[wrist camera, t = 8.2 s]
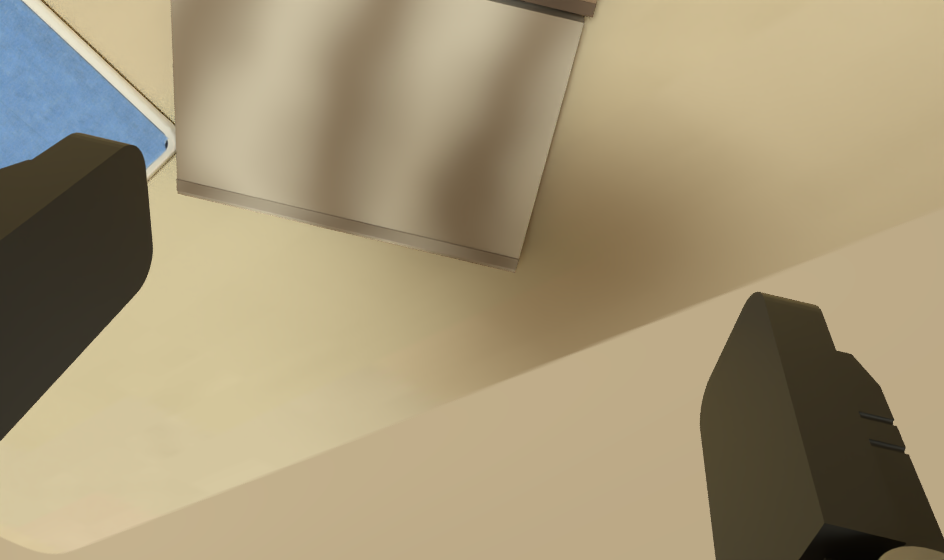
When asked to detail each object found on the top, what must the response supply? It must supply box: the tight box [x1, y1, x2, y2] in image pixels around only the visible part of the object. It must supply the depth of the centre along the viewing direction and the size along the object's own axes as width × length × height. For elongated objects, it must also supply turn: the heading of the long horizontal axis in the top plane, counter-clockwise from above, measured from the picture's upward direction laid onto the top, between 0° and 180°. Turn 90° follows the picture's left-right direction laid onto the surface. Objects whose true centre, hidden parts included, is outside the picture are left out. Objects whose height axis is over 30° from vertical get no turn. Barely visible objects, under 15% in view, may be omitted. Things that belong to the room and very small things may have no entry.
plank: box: [171, 0, 584, 273], centre depth 33 cm, size 16×12×2 cm
